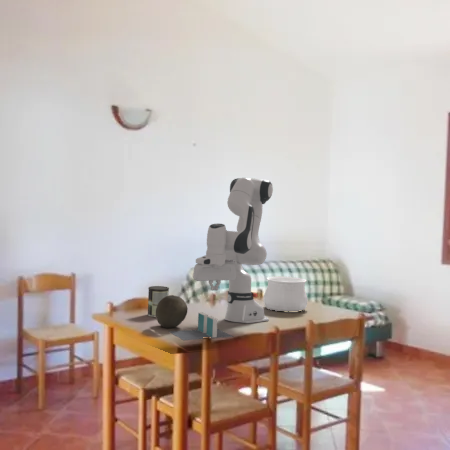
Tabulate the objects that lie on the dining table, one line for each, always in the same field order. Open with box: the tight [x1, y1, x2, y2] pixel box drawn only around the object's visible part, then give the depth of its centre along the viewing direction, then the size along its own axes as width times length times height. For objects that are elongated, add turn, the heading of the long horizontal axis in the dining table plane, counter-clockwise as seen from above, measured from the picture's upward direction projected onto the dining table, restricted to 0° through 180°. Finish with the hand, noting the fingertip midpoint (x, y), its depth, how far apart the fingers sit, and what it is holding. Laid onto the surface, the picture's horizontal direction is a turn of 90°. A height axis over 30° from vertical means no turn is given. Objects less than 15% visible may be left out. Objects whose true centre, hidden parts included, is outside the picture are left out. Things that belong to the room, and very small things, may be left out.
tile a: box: [197, 311, 209, 333], centre depth 285 cm, size 2×6×8 cm, turn 28°
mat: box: [168, 328, 234, 341], centre depth 280 cm, size 24×17×1 cm
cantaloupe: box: [155, 294, 189, 329], centre depth 292 cm, size 14×14×15 cm
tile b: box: [206, 315, 218, 337], centre depth 277 cm, size 2×6×8 cm, turn 28°
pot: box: [263, 276, 308, 312], centre depth 353 cm, size 26×24×17 cm
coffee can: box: [147, 285, 170, 318], centre depth 320 cm, size 10×10×14 cm
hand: (214, 290), depth 286 cm, fingers closed
